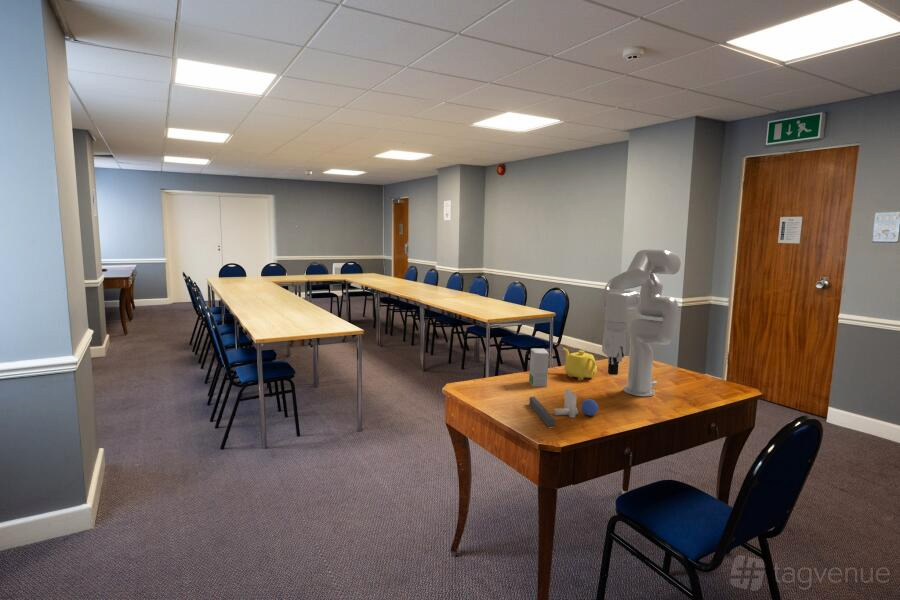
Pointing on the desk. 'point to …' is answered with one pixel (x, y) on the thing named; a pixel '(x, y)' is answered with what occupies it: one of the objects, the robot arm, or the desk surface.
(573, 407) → the back left pin
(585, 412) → the ball
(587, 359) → the teapot
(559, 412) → the front pin
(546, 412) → the bar
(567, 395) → the back right pin
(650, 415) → the desk surface
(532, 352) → the skincare box
